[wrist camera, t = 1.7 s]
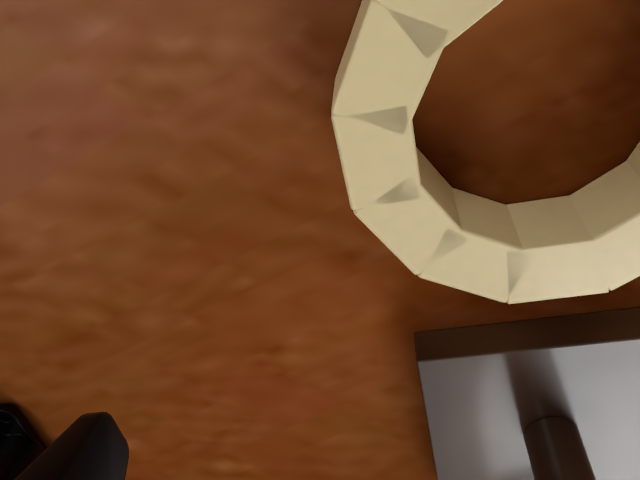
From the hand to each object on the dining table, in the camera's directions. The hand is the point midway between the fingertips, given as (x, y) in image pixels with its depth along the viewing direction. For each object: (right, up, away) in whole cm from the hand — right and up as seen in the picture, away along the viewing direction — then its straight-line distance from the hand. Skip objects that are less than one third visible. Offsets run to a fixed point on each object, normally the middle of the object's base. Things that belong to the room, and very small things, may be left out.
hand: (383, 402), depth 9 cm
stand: (+8, -4, +15) cm, 17 cm away
